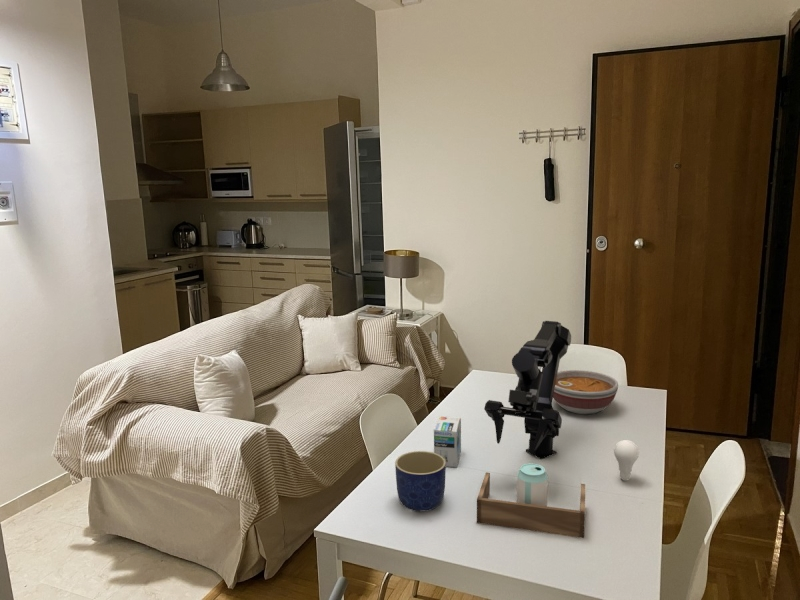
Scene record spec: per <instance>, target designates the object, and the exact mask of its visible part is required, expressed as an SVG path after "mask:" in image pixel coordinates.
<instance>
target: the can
mask: <svg viewBox="0 0 800 600" xmlns="http://www.w3.org/2000/svg"><path fill="white" fill-rule="evenodd" d="M548 482H549V477H548V474H547V472H546V468H545V467H544V466H542V465H540V464H538V463H532V462H531V463H525V464H522V465H521V466H520V467H519V470H518V472H517V474H516V502H517V503H525V504H533V505H540V506H548V486H549V485H548Z"/></svg>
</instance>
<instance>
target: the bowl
mask: <svg viewBox="0 0 800 600" xmlns="http://www.w3.org/2000/svg"><path fill="white" fill-rule="evenodd" d="M618 388H619V382H618V381H617V380H616V379H615V377H614V378H613V377H612V376H610V375H608V374H605V373H601V372H597V371H596V372H595V371H592V370H590V371H589V370H581V369H580V370H579V369H577V370H576V369H571V370H563V371H562V370H561V371H558V373H557V378H556V384H555V389H554V394H553V401H555V402H556V403H557V404H558V405H559V406H560V407H561V408H563V410H566V411H568V412H570V413H573V414H578V415H579V414H580V415H594V414H597V413H600V412H601V411H604V410H605V409H606V408H608V406H610V405H611V403H612V402H613V401H614V399H615V398H616V395H617V393H618Z"/></svg>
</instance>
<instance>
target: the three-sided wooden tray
mask: <svg viewBox="0 0 800 600" xmlns="http://www.w3.org/2000/svg"><path fill="white" fill-rule="evenodd" d="M490 486H491V473H490V472H488V471H487V472H485V475H484V477H483V479H482V483H481V486H480V489H479V492H478V495H477V498H476V524H481V525H489V526H497V527H503V528H510V529H515V530H523V531H531V532H539V533H546V534H551V535H552V534H553V535H560V536H567V537H573V538H580V539H585V523H586V522H585V521H586V484H585V483H580V494H579V495H580V496H579V501H580V502H579V510H577V509H571V508H564V507H563V508H561V507H554V506H548V505H547V506H540V505H533V504H525V503H517V501H510V500H508V501H507V500H503V499H501V500H500V499H493V498H490V494H491V493H490V492H491V491H490V489H491V487H490Z"/></svg>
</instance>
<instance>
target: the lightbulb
mask: <svg viewBox="0 0 800 600" xmlns="http://www.w3.org/2000/svg"><path fill="white" fill-rule="evenodd" d="M639 453H640V452H639V447H638V445H637V444H636V443H634V442H633V441H631V440H629V439H623V440H620V441H618V442H616V444H615V445H614V449H613V454H614V457H615V459H616V461H617V464H618V470H619V478H620V479H622V480H623V481H628V480H630V479H631V473H632V469H633V466H634V464H635V463H636V461H637V460H638V458H639V455H640V454H639Z"/></svg>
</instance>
